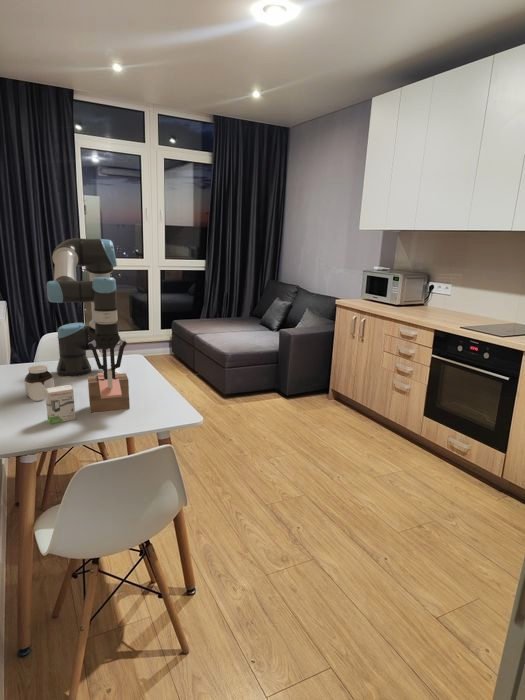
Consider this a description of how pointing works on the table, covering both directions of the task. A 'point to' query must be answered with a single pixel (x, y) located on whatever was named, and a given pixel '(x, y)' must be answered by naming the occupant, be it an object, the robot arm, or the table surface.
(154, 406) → the table surface
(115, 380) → the stub
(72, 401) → the ink box
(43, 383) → the spread jar
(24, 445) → the table surface
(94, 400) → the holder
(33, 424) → the table surface
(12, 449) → the table surface
